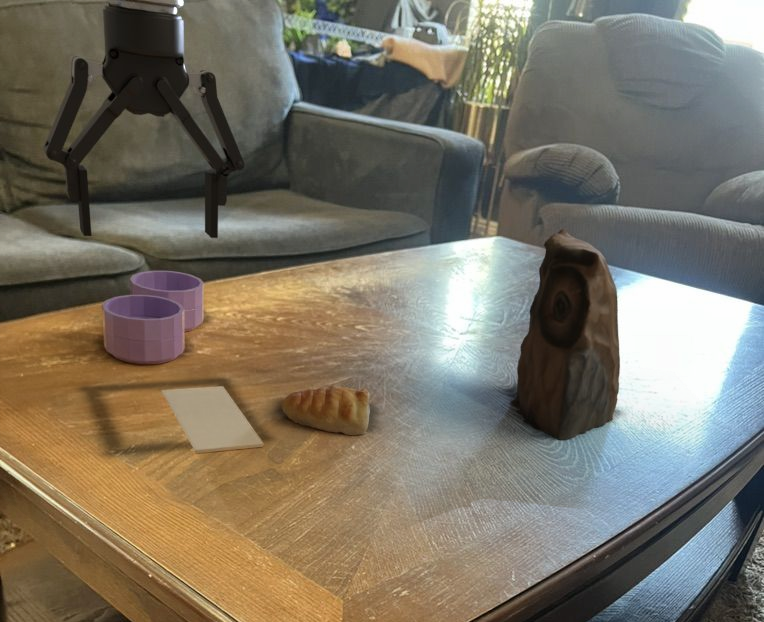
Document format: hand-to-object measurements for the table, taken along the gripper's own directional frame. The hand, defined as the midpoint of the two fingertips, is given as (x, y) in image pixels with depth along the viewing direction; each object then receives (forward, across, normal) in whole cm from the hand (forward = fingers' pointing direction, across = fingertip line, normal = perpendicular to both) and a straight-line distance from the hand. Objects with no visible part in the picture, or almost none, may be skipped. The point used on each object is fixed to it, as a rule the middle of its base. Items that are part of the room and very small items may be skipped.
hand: (150, 234), depth 86 cm
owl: (+14, +42, -26) cm, 51 cm away
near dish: (+14, -1, 0) cm, 14 cm away
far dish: (+14, +4, +10) cm, 17 cm away
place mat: (+14, -2, -19) cm, 24 cm away
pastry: (+14, +14, -22) cm, 30 cm away
